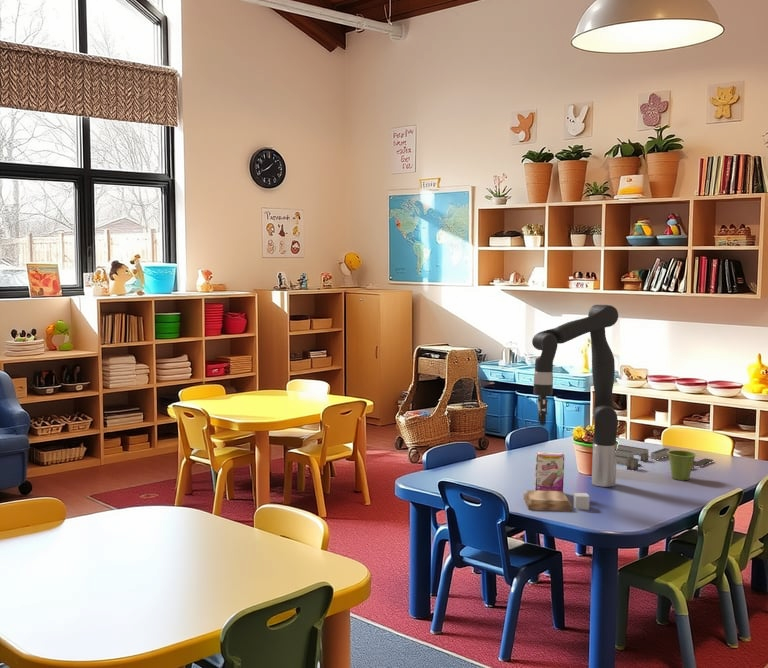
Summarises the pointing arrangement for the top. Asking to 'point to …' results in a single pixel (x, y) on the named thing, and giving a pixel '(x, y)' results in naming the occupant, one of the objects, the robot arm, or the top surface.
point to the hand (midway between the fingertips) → (541, 423)
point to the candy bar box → (549, 471)
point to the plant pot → (681, 463)
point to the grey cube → (581, 500)
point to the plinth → (546, 506)
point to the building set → (644, 456)
